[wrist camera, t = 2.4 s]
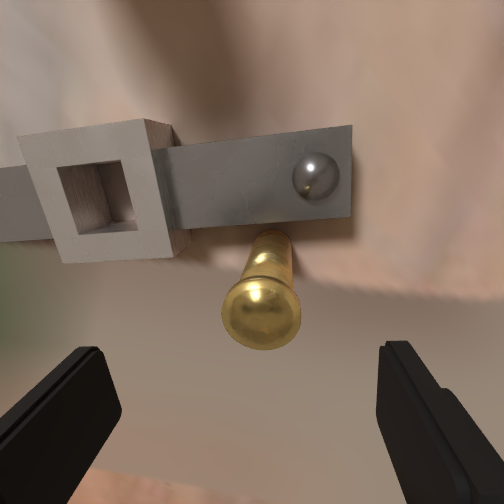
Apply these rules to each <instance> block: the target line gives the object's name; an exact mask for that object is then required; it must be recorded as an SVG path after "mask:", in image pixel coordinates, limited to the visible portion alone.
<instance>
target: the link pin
mask: <svg viewBox="0 0 504 504" xmlns="http://www.w3.org/2000/svg"><path fill="white" fill-rule="evenodd" d="M221 314H222V321H223V324H224V327H225V329H226V330H227V332H228V333H229V335H230V336H231V337H232V338H233V339H235V340H236V341H237V342H239V343H240V344H242V345H244V346H246V347H249V348H252V349H256V350H272V349H276V348H279V347H282V346H284V345H286V344H287V343H288V342H290V341H291V340H292V339H293V338H294V337H295V335H296V334H297V332H298V330H299V328H300V324H301V309H300V303H299V300H298V298H297V295H296V294H295V292H294V291H293V277H292V248H291V242H290V240H289V238H288V237H287V236H286V235H285V234H284V233H282V232H280V231H278V230H267V231H264V232H262V233H261V234H259V235H258V236H257V238H256V239H255V242H254V244H253V247H252V249H251V252H250V255H249V257H248V260H247V262H246V265H245V268H244V270H243V273H242V276H241V278H240V281H238V282H237V283H236V284H234V285H233V287H232V288H231V289H230V290H229V292H228V294H227V296H226V298H225V300H224V303H223V306H222V313H221Z"/></svg>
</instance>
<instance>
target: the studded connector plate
mask: <svg viewBox="0 0 504 504" xmlns="http://www.w3.org/2000/svg"><path fill="white" fill-rule="evenodd" d="M17 140H18V143H19V145H20V148H21V151H22V154H23V156H24V159H25V162H26V164H27V165H23V166H15V167H6V168H0V242H13V241H27V240H40V239H54V241H55V244H56V247H57V249H58V252H59V255H60V257H61V260H62V263H63V264H64V263H83V262H101V261H119V260H137V259H155V258H173V257H174V256H176V255H177V254H178V253H179V252H180V251H181V250H182V249H183V248H184V247H186V246H187V245H188V244H189V243H190V242H191V241H192V236H191V230H190V229H191V228H205V227H219V226H233V225H246V224H260V223H274V222H287V221H301V220H315V219H329V218H342V217H351V168H352V125H346V126H338V127H330V128H322V129H314V130H306V131H298V132H290V133H282V134H274V135H265V136H257V137H249V138H241V139H233V140H225V141H217V142H209V143H201V144H193V145H185V146H176V147H175V145H174V140H173V134H172V129H171V125H169V124H165V123H160V122H156V121H152V120H148V119H144V118H143V119H136V120H129V121H122V122H115V123H108V124H101V125H94V126H87V127H80V128H73V129H66V130H59V131H52V132H45V133H38V134H31V135H24V136H17ZM116 162H121V163H122V167H123V171H124V175H125V179H126V183H127V187H128V191H129V195H130V199H131V203H132V207H133V211H134V215H135V219H136V220H129V221H116V222H113V221H112V218H111V214H110V211H109V207H108V204H107V200H106V197H105V193H104V190H103V186H102V183H101V179H100V176H99V172H98V168H97V165H99V164H108V163H116Z"/></svg>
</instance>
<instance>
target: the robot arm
mask: <svg viewBox="0 0 504 504" xmlns="http://www.w3.org/2000/svg"><path fill="white" fill-rule="evenodd" d="M121 412H122V408H121V405H120V402H119V400H118V396H117V393H116V390H115V387H114V384H113V381H112V378H111V375H110V372H109V369H108V366H107V363H106V360H105V357H104V354H103V352H102V351H100V349H99V348H98V347H95V346H94V347H93V346H91V347H79V348H77V349H75V350H74V351H73V352H72V353H71V354H70V355H69V356H68V357H66V358H65V359H64V360H63V361H62V362H61V363H60V364H59V365H58V366H57V367H56V368H55V369H54V370H52V371H51V372H50V373H49V374H48V375H47V376H46V377H45V378H44V379H43V380H41V381H40V382H39V383H38V384H37V385H36V386H35V387H34V388H33V389H32V390H30V391H29V392H28V393H27V394H26V395H25V396H24V397H23V398H22V399H21V400H20V401H18V402H17V403H16V404H15V405H14V406H13V407H12V408H11V409H10V410H9V411H8V412H6V413H5V414H4V415H3V416H2V417H1V418H0V504H67V502H68V501H69V499H70V497H71V496H72V494H73V493H74V491H75V490H76V488H77V486H78V485H79V483H80V482H81V480H82V478H83V477H84V475H85V474H86V472H87V470H88V469H89V467H90V466H91V464H92V462H93V461H94V459H95V458H96V456H97V454H98V453H99V451H100V450H101V448H102V446H103V445H104V443H105V442H106V440H107V439H108V437H109V435H110V434H111V432H112V430H113V429H114V427H115V426H116V424H117V423H118V421H119V419H120V417H121ZM376 417H377V422H378V425H379V428H380V431H381V434H382V436H383V439H384V442H385V444H386V447H387V450H388V453H389V455H390V458H391V461H392V464H393V467H394V469H395V472H396V475H397V477H398V480H399V483H400V486H401V489H402V491H403V494H404V497H405V500H406V502H407V504H504V461H503V460H502V459H501V457H500V456H499V454H498V453H497V452H496V450H495V449H494V448H493V446H492V445H491V444H490V442H489V441H488V440H487V438H486V437H485V435H484V434H483V433H482V431H481V430H480V429H479V427H478V426H477V425H476V423H475V422H474V421H473V419H472V418H471V416H470V415H469V414H468V412H467V411H466V410H465V408H464V407H463V406H462V404H461V403H460V402H459V400H458V399H457V397H456V396H455V395H454V394H453V393H452V392H451V391H450V390H449V389H447V388H441V387H440V386H439V385H438V383H437V382H436V380H435V379H434V377H433V376H432V375H431V373H430V372H429V370H428V369H427V367H426V366H425V364H424V363H423V362H422V360H421V359H420V357H419V356H418V354H417V353H416V352H415V350H414V349H413V347H412V346H411V344H410V343H409V342H408V341H386V343H385V346H381V347H380V349H379V365H378V384H377V403H376Z"/></svg>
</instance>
